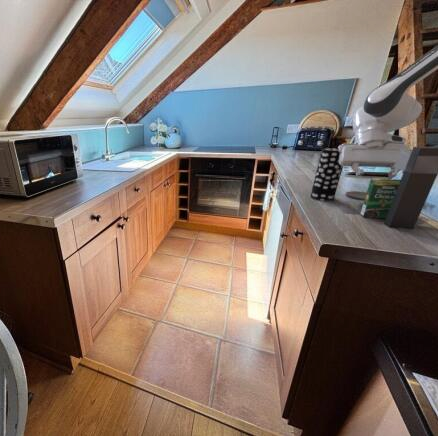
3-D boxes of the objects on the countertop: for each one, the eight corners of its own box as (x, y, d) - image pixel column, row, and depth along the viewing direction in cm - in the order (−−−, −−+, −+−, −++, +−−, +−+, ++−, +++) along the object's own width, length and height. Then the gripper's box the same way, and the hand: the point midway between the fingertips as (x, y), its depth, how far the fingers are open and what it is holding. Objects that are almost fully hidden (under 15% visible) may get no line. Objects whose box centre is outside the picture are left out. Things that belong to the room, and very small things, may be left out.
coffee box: (361, 217, 83) (374, 179, 78) (358, 214, 86) (370, 177, 81) (391, 220, 81) (407, 181, 76) (387, 217, 83) (402, 179, 78)
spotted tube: (333, 196, 104) (346, 148, 97) (334, 202, 98) (348, 151, 90) (310, 194, 109) (321, 147, 101) (310, 199, 102) (322, 150, 94)
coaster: (361, 192, 109) (362, 190, 109) (385, 200, 99) (386, 198, 98) (338, 193, 108) (339, 191, 108) (360, 201, 98) (361, 199, 98)
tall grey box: (375, 217, 83) (402, 144, 74) (397, 219, 81) (427, 144, 72) (389, 227, 76) (420, 147, 66) (413, 229, 74) (449, 148, 65)
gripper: (342, 137, 89) (345, 169, 85) (411, 137, 84) (419, 171, 79) (334, 148, 95) (336, 179, 90) (398, 149, 89) (405, 181, 85)
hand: (376, 175), depth 85 cm, fingers open, 8 cm apart
